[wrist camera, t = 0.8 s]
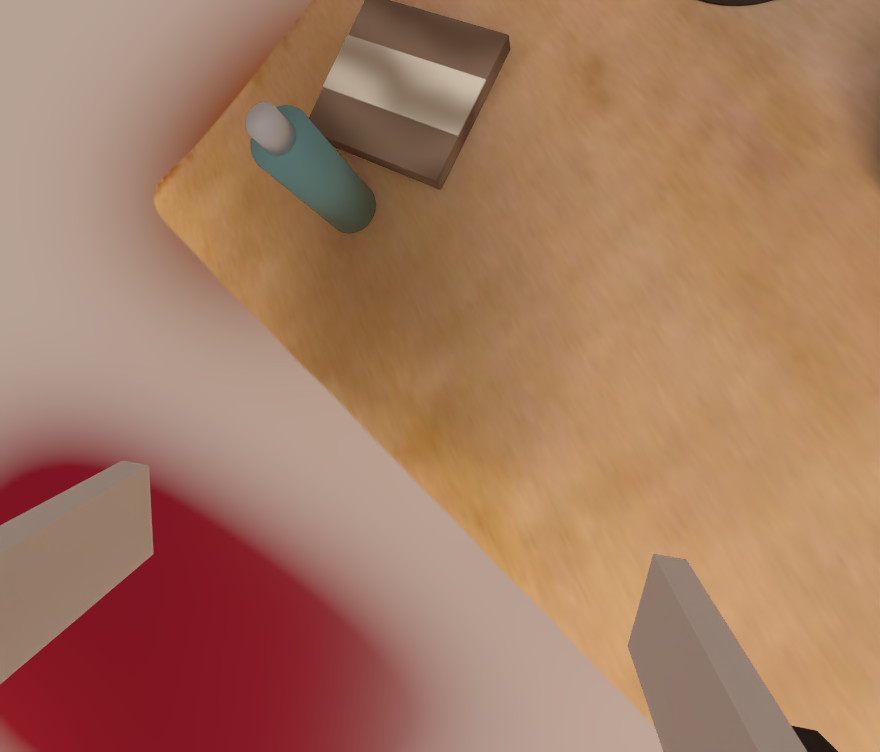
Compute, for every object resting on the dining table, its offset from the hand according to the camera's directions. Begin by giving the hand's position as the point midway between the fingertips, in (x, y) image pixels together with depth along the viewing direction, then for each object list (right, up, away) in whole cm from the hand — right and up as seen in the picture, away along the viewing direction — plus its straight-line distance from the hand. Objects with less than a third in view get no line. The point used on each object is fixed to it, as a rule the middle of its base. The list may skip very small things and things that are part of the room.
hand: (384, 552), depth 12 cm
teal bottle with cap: (-7, +20, +29) cm, 36 cm away
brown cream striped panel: (-2, +29, +29) cm, 41 cm away
